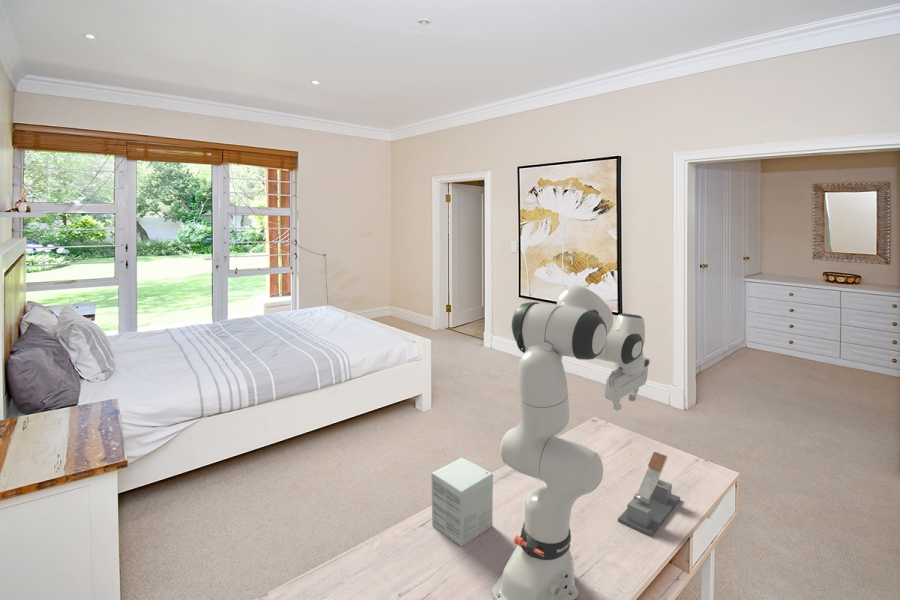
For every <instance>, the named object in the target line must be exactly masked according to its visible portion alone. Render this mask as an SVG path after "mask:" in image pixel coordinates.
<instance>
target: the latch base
mask: <svg viewBox="0 0 900 600" xmlns="http://www.w3.org/2000/svg"><path fill="white" fill-rule="evenodd" d="M672 488H673V484H672V483H670V482H667V481H665V480H662V479H660V478H659V479H658V482H657V484H656V487H655V489H654V491H653V494H652V496H651V499H650V500H651V503H650V505H647V504H645V503H642V502H640V501H638V500H635V499H634V497H633V498H632V499H631V500H629V502H628V503H627V508H626V509H625V510H624V512H623V513H621V515H620V516H619V517H618V518H617V522H619V523H620V524H622V525H624V526H627V527H629V528H631V529H633V530H635V531H637V532H640V533H641V534H644V535H646V536H648V537H652V536H654V534H655V533H656V532H657V530H658V529H659V528H660V526H661V525H662V524H663V523H664V521H666V519H667V517H669V515H670V514H671V513H672V511H673V510H674V509H675V507H676V506H677V505H678V504H679V502H680V501H681V497H680V496H677V495H676V494H673V493H672V490H673V489H672Z"/></svg>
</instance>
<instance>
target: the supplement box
mask: <svg viewBox="0 0 900 600" xmlns="http://www.w3.org/2000/svg"><path fill="white" fill-rule="evenodd" d="M493 484H494V475H493V473H492V472H491V471H488V470H486V469H485V468H483V467H482V466H479V465H477V464H476V463H474V462H472V461H470V460H468V459H466V458H465V457H460V458H457V459H456V460H454V461H453V462H450V463H449V464H447V465H445V466H442V467H441V468H439V469H437V470H435V471H432V472H431V516H432V517H431V524H432V526H433V527H434V528H435V529H437V530H438V531H439V532H440V533H441V534H443V533H444V536H446V537H448V538H449V539H450V538H451V539H450V540H452V541H453V540H454V541H455V542H454V541H453V542H454V543H456V544H457V543H458V544H459V545H458V544H457V545H458V546H460V547H463V545H464V546H465V545H467V543H470V542H471V541H472V540H474V539H475V538H476V537H478V536H480V535H481V534H482V533H484V532H485V531H486V530H488V529H490V528H491V527H492V526H493V507H494V506H493V502H494V501H493V500H494V499H493V496H494V495H493V494H494V493H493V491H494V489H493V488H494V485H493ZM479 534H480V535H479Z"/></svg>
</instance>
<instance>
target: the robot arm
mask: <svg viewBox="0 0 900 600" xmlns="http://www.w3.org/2000/svg"><path fill="white" fill-rule="evenodd" d="M613 325H614V315H613V312H612V310H611V308H610V307H609V305H608V304H607V303H606V302H605V301H604V300H603V298H601V296H599V294H597V293H595V292H594V291H592V290H590V289H588V288H587V287H584V286H582V285H576V286H575V285H574V286H570V287H567V288H566V289H564V290H563V291H562V292H561V293H560V294H559V296H558V298H557V301H556V304H551V303H540V302H537V301H536V302H535V301H533V302H531V301H530V302H525V303H522V304H520V305H519V307H517V308H516V309H515V312H514V313H513V316H512V319H511V330H512V335H513V337H514V340H515V342H516V343H515V344H516V345H517V348H518V350H519V351H521V353H523V354H522V355H521V357H520V359H519V362H518V371H517V372H518V374H517V385H518V386H517V388H518V397H519V411H520V420H519V423H517V425H516V426H514V427H511V428H510V429H509V430H507V431H506V433H505V434H504V435H503V437H502V439H501V441H500V444H499V454H500V457H501V460H502V462H503V463H504V464H505V465H507V466H508V467H510V468H511V469H513V470H514V471H517V472H518V473H520V474H522V475H525V476H528V477H531V478H533V479H536V480H540V481H542V482H544V483H545V484H546V485H541V486H539V487H536V488H535V489H532V490H531V491H530V492H529V493H528V494H527V496H526V498H525V503H524V521H523V524H522V528H521V531H520V532H521V533H520V536H519V535H518V534H517V535H515V536H514V537H513V543H514V544H515V545H516V547H515V548H514V550H513V552H512V554H511V555H510V557H509V560H508V561H507V563H506V565H505V566H504V568H503V571H502V574H501V575H500V576H499V578H498V580H497V581H496V582H495V583H494V584H493V587H492V589H491V592H492V593H491V595H493V596H492V598H493V597H494V598H495V599H496V600H575V599H577V598H578V597H579V590H578V587H577V586H576V583H575V567H574V565H575V562H574V560H573V558H572V553H571V551H570V547H571V543H572V542H571V541H572V535H571V528H570V521H571V520H570V519H571V513H572V508H573V505H574V503H575V502H576V501H577V499H579V498H580V497H582V496H584V495H587V494H588V495H589V494H590V493H592V492H594V491H595V490H596V489H597V488H598V487H599V486H600V484H601V483H602V480H603V478H604V477H603V475H604V466H603V461H602V458H601V456H600V455H599V453H598V452H596V451H594V450H592V449H590V448H588V447H587V446H584V445H583V444H581V443H579V442H578V443H577V442H574V441H571V440H567V439H564V438H561V437H558V436H556V435H558V434H559V433H561V432H563V431H564V430H565V428H566V427H567V426H568V424H569V422H570V421H569V420H570V406H569V405H570V403H569V391H568V390H569V389H568V383H567V377H566V372H565V371H566V370H565V367H564V365H563V362H562V359H563V357H569V358H576V359H577V360H594V359H596V360H597V359H598V360H601V361H605V362H611V363H612V365H611V366H612V371H611V372H610V374H609V375H608V376H607V378H606V381H605V386H604V395H603V396H604V398H605V399H606V400H608V401H611V402H612V404H613V410H615V411H616V412H618V411H620V410H621V409H622V403H621V402H620V401H621V399H622V398H624V397H626V396H627V395H628V401H631V402H635V401H636V400H637V395H638V392H639V390H640V389H639V388H641V387H642V386H644V385H645V384H646V382H647V380H648V373H649V366H650V362H651V361H650V360H651V359H650V358H649V357H644V352H643V351H644V349H643V348H644V345H645V341H646V339H645V338H646V329H645V328H646V326H645V319H644V317H642V315H639V314H638V315H637V314H632V313H624V312H623V313H619V314H618V315H617V317H616V322H615V325H614V326H613ZM613 327H614V328H613ZM620 403H621V404H620ZM498 597H501V598H498ZM494 598H493V599H494ZM495 599H494V600H495Z"/></svg>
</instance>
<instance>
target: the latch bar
mask: <svg viewBox="0 0 900 600" xmlns="http://www.w3.org/2000/svg"><path fill="white" fill-rule="evenodd" d="M667 461H668V456H667V455H665V454H662V453H659V452H656V451H653V453H652V455H651V458H650V460H649V463H648V464H647V466H648V468H647V470H646V472H645V475H644V476H643V479H642V482H641V484H640V486H639V488H638V490H637V493H635V494H634V496H633V498H634V499H635V500H638V501H640V502H642V503H645V504H647V505H650V503H651V500H650V499H651V496H652V494H653V491H654V489H655V487H656V484H657V482H658V479H660V477H661V474H662V472H663V470H664V468H665V465H666V463H667Z"/></svg>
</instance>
